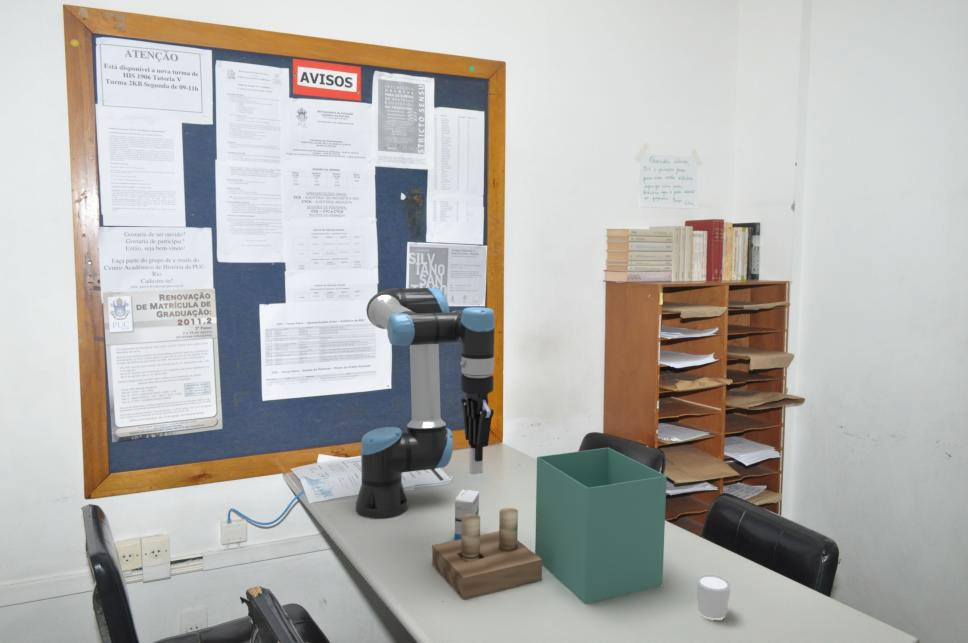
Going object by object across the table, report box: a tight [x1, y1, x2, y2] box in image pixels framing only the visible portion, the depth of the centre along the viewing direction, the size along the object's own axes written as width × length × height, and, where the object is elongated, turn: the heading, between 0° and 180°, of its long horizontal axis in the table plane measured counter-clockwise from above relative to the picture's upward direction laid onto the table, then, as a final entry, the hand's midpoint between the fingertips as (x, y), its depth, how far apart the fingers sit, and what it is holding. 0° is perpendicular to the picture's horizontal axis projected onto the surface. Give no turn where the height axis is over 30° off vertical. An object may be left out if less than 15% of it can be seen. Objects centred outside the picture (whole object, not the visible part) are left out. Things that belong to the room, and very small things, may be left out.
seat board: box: [431, 507, 543, 600], centre depth 158 cm, size 18×20×14 cm
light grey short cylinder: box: [695, 574, 732, 618], centre depth 141 cm, size 7×7×7 cm
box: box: [534, 447, 668, 605], centre depth 158 cm, size 23×21×26 cm
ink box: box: [454, 489, 480, 540], centre depth 177 cm, size 8×5×12 cm, turn 168°
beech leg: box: [461, 514, 481, 562], centre depth 156 cm, size 4×4×14 cm
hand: (476, 472), depth 158 cm, fingers closed
